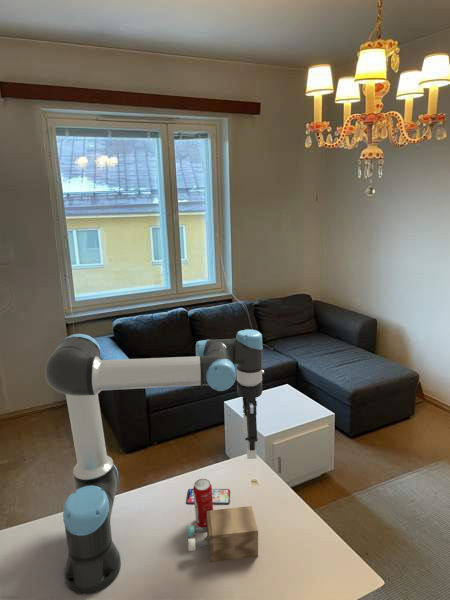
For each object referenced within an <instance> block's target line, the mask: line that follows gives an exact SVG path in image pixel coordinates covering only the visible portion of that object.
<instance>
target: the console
mask: <svg viewBox="0 0 450 600" xmlns="http://www.w3.org/2000/svg"><path fill="white" fill-rule="evenodd" d="M207 527H208V532H206V533H207V535H206V536H207V540H209V545H207V546H208V552H209V553H208V554H209V561H210V563H215V562H224V561H225V562H226V561H233V560H240V559H248V558H258V557H259V529H258V525H257V521H256V518H255V513H254V509H253V506H252V505H248V506H239V507H231V508H230V507H229V508H221V509H219V508H218V509H213V510H209V511H207Z"/></svg>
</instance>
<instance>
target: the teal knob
mask: <svg viewBox="0 0 450 600" xmlns="http://www.w3.org/2000/svg"><path fill="white" fill-rule="evenodd" d="M207 532H208V527H195V525H193V524H192V525H187V537H188V538H193V537H194V538H195V537H196V536H195V534H204V533H207Z"/></svg>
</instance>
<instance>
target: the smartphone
mask: <svg viewBox="0 0 450 600" xmlns="http://www.w3.org/2000/svg"><path fill="white" fill-rule="evenodd" d="M212 500H213V506H214V505H215V506H216V505H219V506H222V505H223V506H229V505H230V503H231V490H230V488H212ZM185 501H186V502H185V504H186V505H194V506H195V503H194V490H193V488H189V489H188V490H187V496H186V499H185Z"/></svg>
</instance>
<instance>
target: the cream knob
mask: <svg viewBox="0 0 450 600" xmlns="http://www.w3.org/2000/svg"><path fill="white" fill-rule="evenodd" d="M187 543H188V544H187V547H188V552H189V551H196V548H197V547H206V546H208V545H209V540H208V539H205V540H204V539H203V540H196V538H195V537H194V538H193V537H191V538H188V539H187Z"/></svg>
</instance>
